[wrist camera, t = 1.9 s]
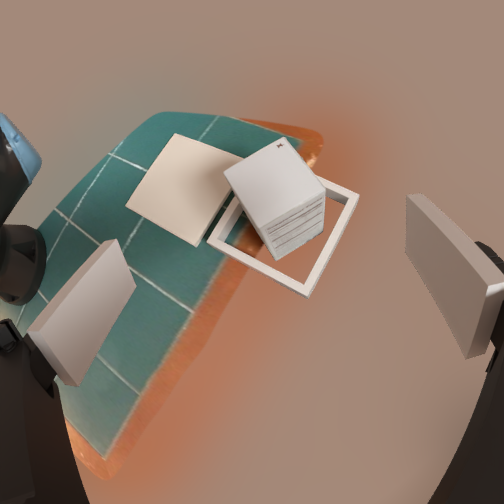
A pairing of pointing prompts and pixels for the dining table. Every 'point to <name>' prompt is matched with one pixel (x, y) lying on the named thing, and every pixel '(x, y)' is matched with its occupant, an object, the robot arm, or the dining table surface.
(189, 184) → the cream coaster
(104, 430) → the dining table surface
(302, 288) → the white square frame
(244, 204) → the supplement box
